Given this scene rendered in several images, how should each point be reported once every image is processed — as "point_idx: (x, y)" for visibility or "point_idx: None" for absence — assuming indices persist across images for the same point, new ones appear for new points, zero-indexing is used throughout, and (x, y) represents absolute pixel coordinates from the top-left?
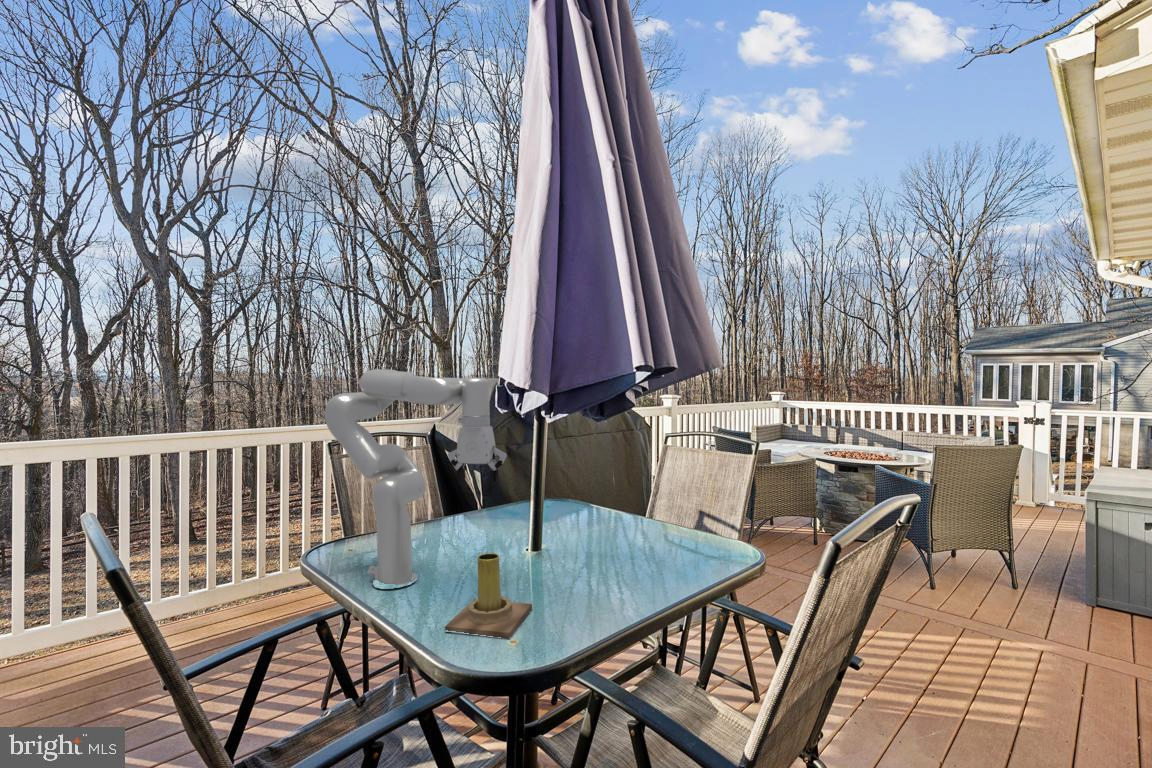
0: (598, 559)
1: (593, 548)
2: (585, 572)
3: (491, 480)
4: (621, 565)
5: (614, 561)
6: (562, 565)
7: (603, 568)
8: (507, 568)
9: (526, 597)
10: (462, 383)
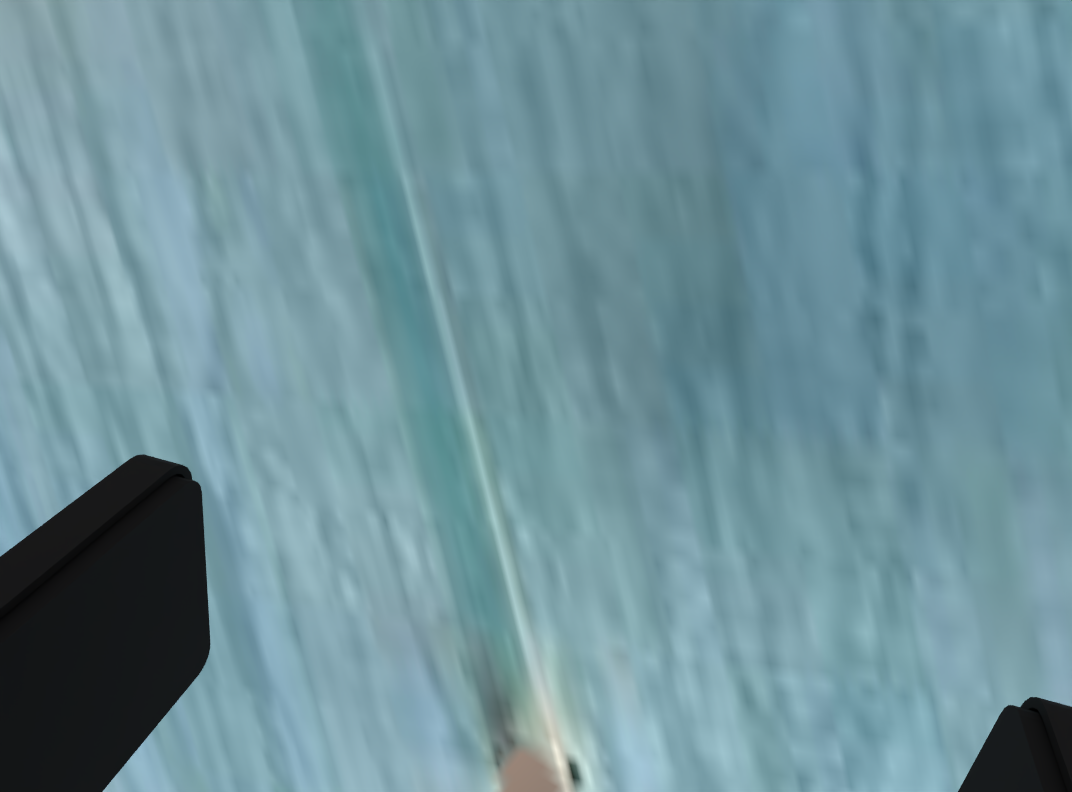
0: None
1: (249, 727)
2: (200, 434)
3: (97, 512)
4: None
5: None
6: (336, 537)
7: None
8: (626, 529)
9: (410, 82)
10: None
